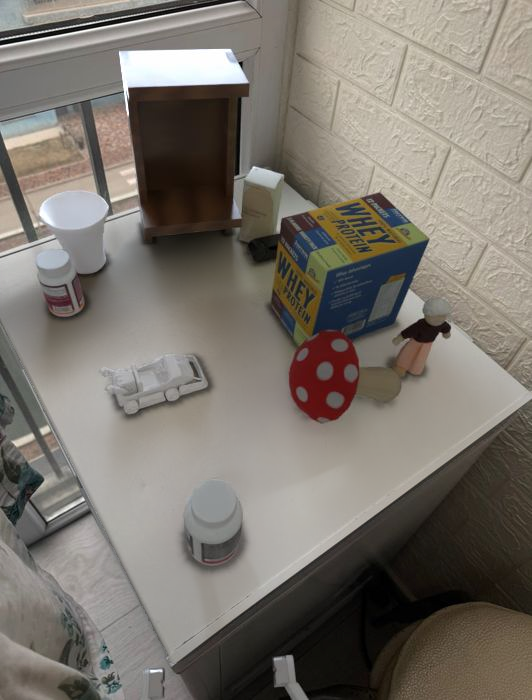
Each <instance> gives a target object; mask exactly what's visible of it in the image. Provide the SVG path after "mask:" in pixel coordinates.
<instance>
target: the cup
mask: <svg viewBox="0 0 532 700" xmlns="http://www.w3.org/2000/svg"><path fill="white" fill-rule="evenodd" d="M108 204H109V203H108V202H106V200H105V199H104V198H103V197H102V196H101V195H99V194H97V193H94V192H92V191H88V190H74V189H73V190H66V191H62V192H59V193H55V194H53V195H51V196H50V197H48V198H47V199H46V200H44V201H43V202H42V203H41V205H40V206H39V210H38V214H37V215H36V216H35V217H36V220H37V221H38V222H40V223H42V224H43V225H44V226H45V227H46V228H47V229H48V230H49V231H50V232H51V233H52V234H53V236H54V237H55V239H56V240H57V242H58V243H59V245H60V246H61V249H62V250H64V251H66V252H67V253H68V255H69V258H70V261H71V263H72V264H73V265H74V267H75V269H76V272H77V274H80V275H89V274H94V273H96V272H98V271H99V270H101V269H102V268H103V267H104V265H105V264H106V261H107V256H106V252H105V247H104V233H105V224H106V221H107V219H108V216H109V209H110V205H108Z"/></svg>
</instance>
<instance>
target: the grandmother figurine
mask: <svg viewBox="0 0 532 700" xmlns="http://www.w3.org/2000/svg"><path fill="white" fill-rule="evenodd" d="M422 314H423V317H422V318H418V319H417V321H415V322H414V323H412V324H410V325H408V326H407V327H406V328H404V329H402V330H401V331H400V332H399V333H398V334H397V335H396V337H394V338H392V340H391V343H392V345H393V346H395V347H398V346H399V345H400V344H401V343H403V342H404V341H405V340H407V341H406V342H405V344H403V345H402V346H401V347H400V349H399V350H398V352H397V355H396V357H395V359H393V360H392V361H391V363H390V369H393V370H394V371H395V372H396V373H397V374H398V375H399V376H400V378H403V377H405V376H406V375H407V372H408V373H409V374H411V375H415V376H419V375H421V374H422V373H423V371H424V369H425V366H426V363H427V361H428V358H429V355H430V352H431V350H432V346H433V344H434V342H435V341H436V339H437V337H438V336H439V334H440V333H441V336H442V338H443V339H445V340H449V339H450V338H451V337H452V334H451V330H452V326H451V324H450V323H449V322H448V321H447V318H449V317H451V316H452V314H453V307H452V304H451V303H450V302H449V301H447V300H446V299H445V298H443V297H441V296H434V297H429V298H428V299H427V300H426V301H424V303H423V307H422Z"/></svg>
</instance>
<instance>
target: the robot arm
mask: <svg viewBox="0 0 532 700" xmlns="http://www.w3.org/2000/svg"><path fill="white" fill-rule="evenodd" d="M165 669H166V668H165V667H153V668H144V669H142V677H141V693H140V694H141V695H140V698H138V700H163V699H165V690H166V689H165V686H164V685H163V684H164V683H165V680H166V670H165ZM271 670H272V672H273V676H272V681H273V688H278V687H279V688H280V687H284V688H285V690H286V692H287V694H288V696H289V697H290V699H291V700H309V698H308V697H307V695H306V693H305V691H304V690H303V688H302V687H301V685H300V684H299V682H297V679H296V670H295V660H294V656H293V654H286V655H278V656H273V657H272V658H271Z"/></svg>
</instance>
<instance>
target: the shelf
mask: <svg viewBox="0 0 532 700" xmlns="http://www.w3.org/2000/svg"><path fill="white" fill-rule="evenodd" d="M118 52H119V53H118V54H119V62H120V69H121V76H122V84H123V92H124V100H125V109H126V114H127V115H126V117H127V123H128V131H129V139H130V147H131V154H132V162H133V168H134V169H133V171H134V177H135V178H134V179H135V184H136V193H137V199H138V200H137V201H138V208H139V215H140V216H139V217H140V222H141V223H140V224H141V230H142V233H143V239H144V243H145V244H146V243H153V242H154V240H153V237H160V236H161V237H163V236H170V235H182V234H191V233H200V232H210V231H211V232H212V231H220V230H223V233H224V235H232V234H233V229H240V228H241V227H242V217H241V212H240V209H239V207H238V204H237V202H236V199H235V197H234V196H235V169H236V148H237V147H236V145H237V118H238V98H249V97H250V87H251V86H250V85H251V83H250V82H249V79H248V78H247V76H246V74H245V73H244V71H243V69H242V67H241V65H240V64H239V62H238V59H237V58H236V56H235V54H234V52H233V50H232V49H231V48H210V49H209V48H208V49H205V48H203V49H156V50H154V49H153V50H152V49H151V50H119V51H118Z"/></svg>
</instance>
